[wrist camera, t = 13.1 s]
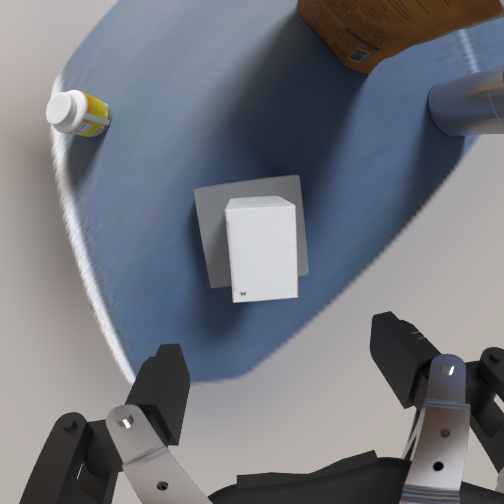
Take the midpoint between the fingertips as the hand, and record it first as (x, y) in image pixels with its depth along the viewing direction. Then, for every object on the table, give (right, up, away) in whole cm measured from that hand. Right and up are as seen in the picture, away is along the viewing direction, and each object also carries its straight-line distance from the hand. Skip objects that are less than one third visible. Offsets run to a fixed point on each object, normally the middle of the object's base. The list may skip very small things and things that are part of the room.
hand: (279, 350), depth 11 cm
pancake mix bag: (+10, +35, +20) cm, 42 cm away
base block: (-1, +8, +27) cm, 28 cm away
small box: (-1, +6, +22) cm, 23 cm away
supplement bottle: (-24, +23, +22) cm, 40 cm away
